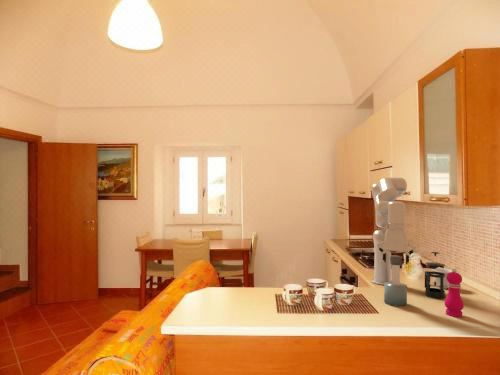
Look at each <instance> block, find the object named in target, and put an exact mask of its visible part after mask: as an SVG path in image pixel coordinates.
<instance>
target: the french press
mask: <svg viewBox="0 0 500 375" xmlns="http://www.w3.org/2000/svg"><path fill="white" fill-rule="evenodd" d="M431 254H434V255H433V257H434V261H432V262H431V261H430V262H425V265H426V268H427V269H430V270H431V269H435V272H433V271H429V270H428V271H427V270H426V271H424V288H425V292H424V296H425V297H427V298H431V299H436V300H437V299H438V300H445V299H446V290H444V289H443V287H444V284H443V278H444V277H445V274H444V273H440V272H436V268H443V269H445V266H446V264H445V263H441V262H436V261H437V259H436V258H437V255H438V254H441V253H440V252H438V251H431ZM433 274H435V275H433ZM436 274H437V275H436ZM434 277H435V282H434V281H431V278H434ZM436 278H440V283H436ZM439 287H440V288H439Z"/></svg>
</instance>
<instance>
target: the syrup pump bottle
mask: <svg viewBox="0 0 500 375" xmlns="http://www.w3.org/2000/svg"><path fill="white" fill-rule="evenodd" d="M400 275H401V265H394V264H391V280H392V282H385V283H384V285H383V288H384V290H383V292H384V295H383V302H385V304H386V305H388V306H391V305H392V307H398V306H403V307H406V306H408V302H407V301H408V285H407V284H405V283H402V282H401V281H400V280H401V279H400V278H401V276H400Z"/></svg>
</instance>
